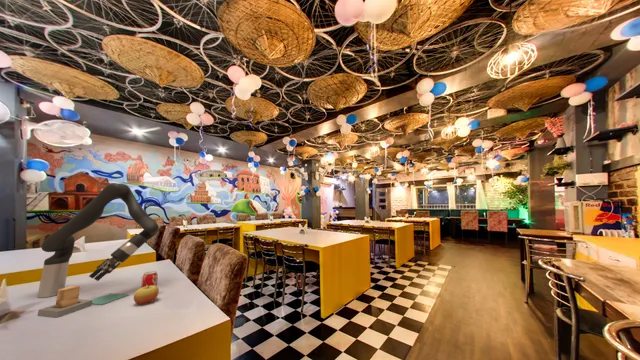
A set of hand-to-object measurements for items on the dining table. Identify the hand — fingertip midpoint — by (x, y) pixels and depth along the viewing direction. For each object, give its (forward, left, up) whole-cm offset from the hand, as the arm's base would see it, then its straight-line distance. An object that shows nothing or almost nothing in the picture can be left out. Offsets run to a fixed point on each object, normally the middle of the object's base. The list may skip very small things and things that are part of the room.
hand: (93, 278), depth 107 cm
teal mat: (+2, +6, -12) cm, 14 cm away
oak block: (-3, -7, -12) cm, 14 cm away
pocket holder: (-3, -7, -12) cm, 14 cm away
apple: (+27, +6, -12) cm, 31 cm away
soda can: (+19, +14, -12) cm, 27 cm away
